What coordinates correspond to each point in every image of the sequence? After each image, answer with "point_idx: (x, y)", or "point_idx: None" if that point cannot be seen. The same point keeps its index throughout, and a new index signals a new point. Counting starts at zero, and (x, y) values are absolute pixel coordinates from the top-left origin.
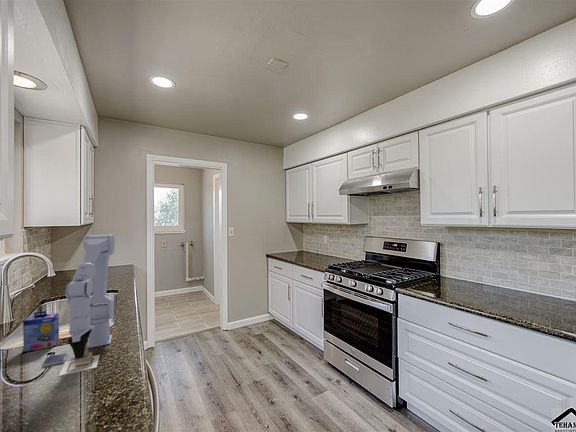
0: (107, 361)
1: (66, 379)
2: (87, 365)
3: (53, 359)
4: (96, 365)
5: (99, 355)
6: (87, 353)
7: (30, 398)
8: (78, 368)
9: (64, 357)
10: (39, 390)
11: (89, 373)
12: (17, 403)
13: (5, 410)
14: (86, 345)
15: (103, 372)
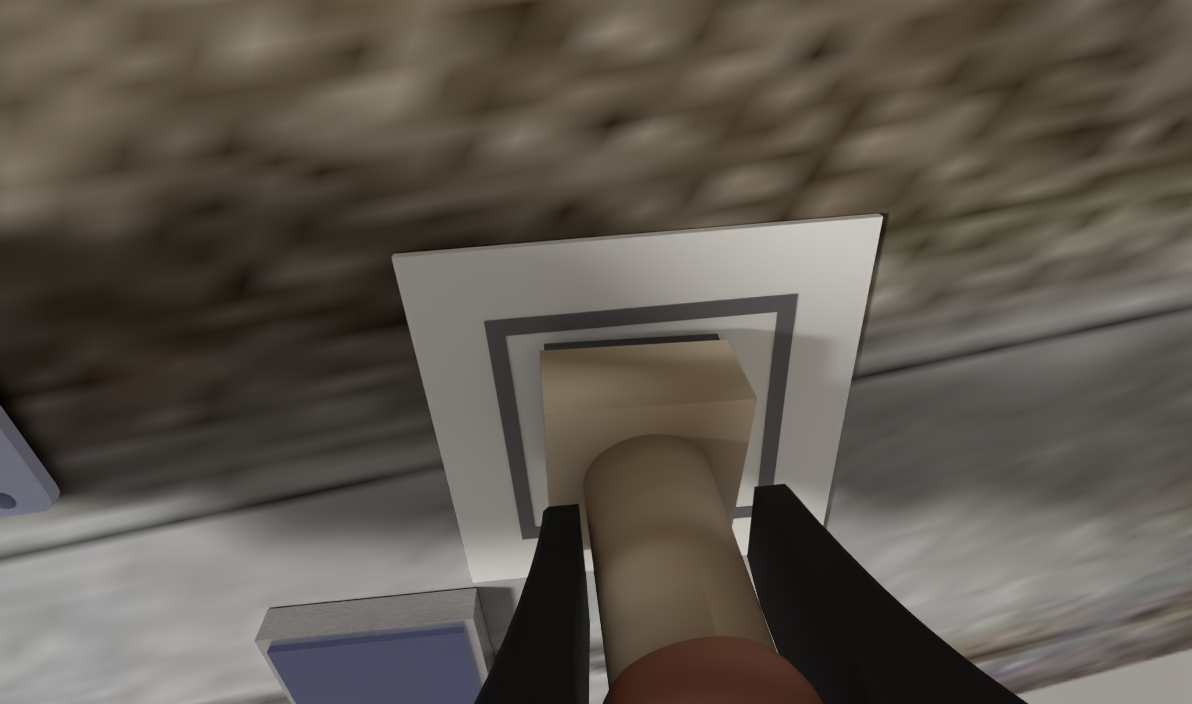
0: (736, 73)
1: (954, 462)
2: (735, 347)
3: (426, 699)
4: (819, 227)
5: (424, 259)
6: (674, 461)
7: (1099, 597)
8: (760, 425)
9: (394, 633)
10: (1003, 587)
11: (1000, 267)
12: (1101, 637)
13: (1142, 659)
14: (728, 606)
15: (1147, 67)
